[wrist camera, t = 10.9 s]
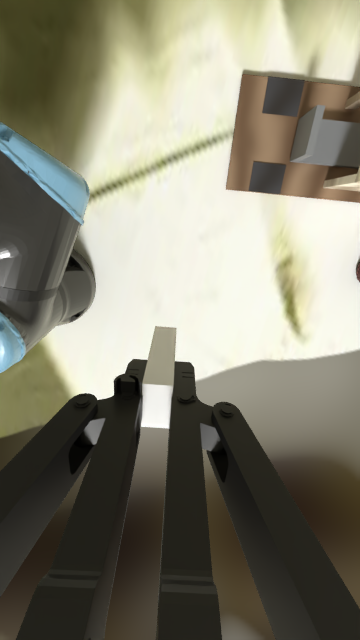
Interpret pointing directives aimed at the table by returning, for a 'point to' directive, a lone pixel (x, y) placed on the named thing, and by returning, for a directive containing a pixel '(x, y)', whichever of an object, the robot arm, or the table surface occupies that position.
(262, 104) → the tunnel board
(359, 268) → the can
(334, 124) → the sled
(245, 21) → the table surface
